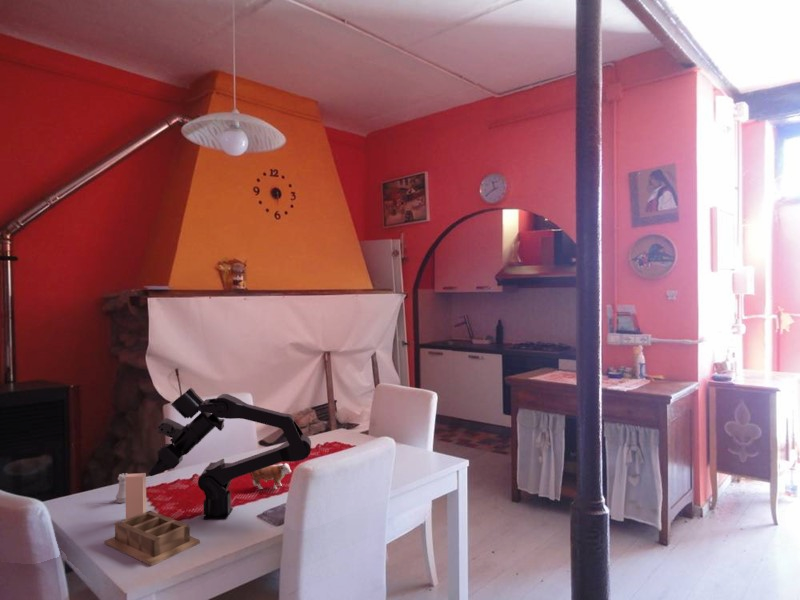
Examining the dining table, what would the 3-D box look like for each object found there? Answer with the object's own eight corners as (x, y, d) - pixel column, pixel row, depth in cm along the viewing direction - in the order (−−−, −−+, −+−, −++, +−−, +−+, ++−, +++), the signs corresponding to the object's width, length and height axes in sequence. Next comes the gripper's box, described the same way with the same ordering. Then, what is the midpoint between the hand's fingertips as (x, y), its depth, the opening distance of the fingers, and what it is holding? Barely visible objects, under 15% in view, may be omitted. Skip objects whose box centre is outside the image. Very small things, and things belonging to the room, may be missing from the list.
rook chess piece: (114, 504, 156) (114, 477, 156) (116, 499, 160) (115, 473, 160) (131, 502, 158) (131, 475, 158) (132, 496, 162) (132, 471, 162)
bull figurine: (290, 490, 167) (290, 465, 167) (248, 490, 167) (248, 465, 167) (293, 485, 171) (293, 460, 171) (252, 485, 171) (252, 460, 171)
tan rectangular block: (146, 517, 147) (145, 473, 147) (143, 521, 145) (142, 476, 145) (129, 518, 147) (128, 473, 147) (125, 522, 144) (125, 477, 144)
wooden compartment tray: (153, 524, 143) (152, 507, 142) (199, 543, 132) (199, 524, 132) (104, 543, 132) (104, 524, 132) (151, 565, 121) (151, 545, 121)
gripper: (186, 402, 156) (146, 439, 155) (166, 417, 138) (120, 459, 136) (212, 429, 157) (173, 466, 156) (196, 447, 139) (151, 489, 137)
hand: (155, 469), depth 146 cm, fingers open, 9 cm apart
